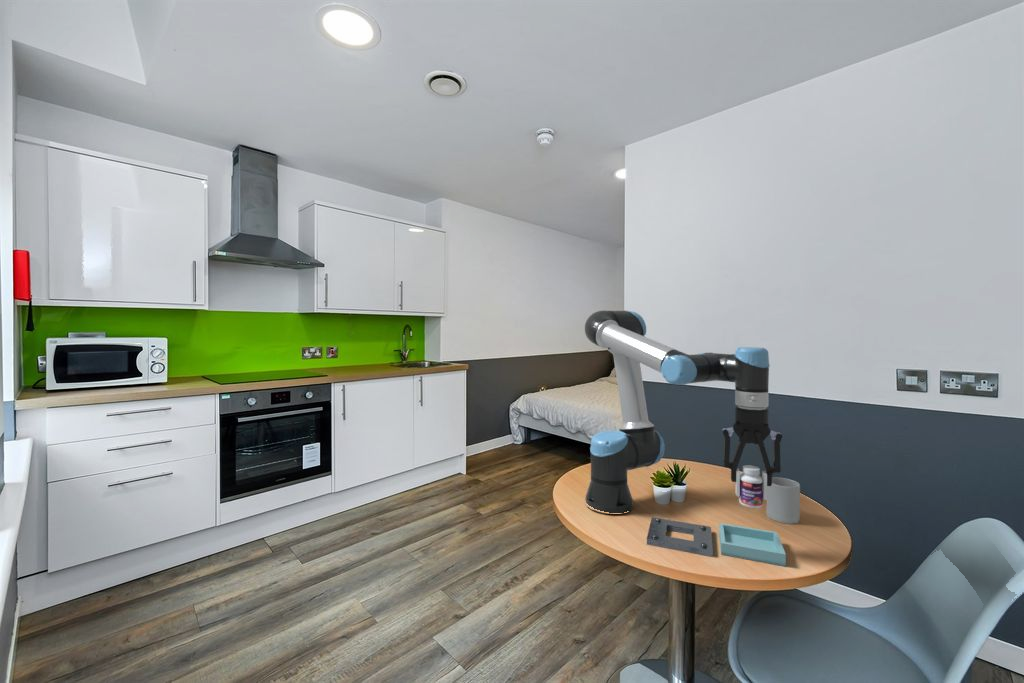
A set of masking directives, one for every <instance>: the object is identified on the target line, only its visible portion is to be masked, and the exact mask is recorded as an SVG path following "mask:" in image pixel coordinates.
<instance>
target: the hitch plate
mask: <svg viewBox="0 0 1024 683" xmlns="http://www.w3.org/2000/svg"><path fill="white" fill-rule="evenodd" d="M668 531H670V532H677V533H681V534H682V533H683V534H687V535H692V536H693V540H690V539H684V538H679V537H674V536H667V534H668V533H667V532H668ZM712 537H713V534H712V526H709V525H702V524H696V523H691V522H683V521H677V520H671V519H666V518H665V519H664V518H659V517H653V516H652V517H651V519H650V524H649V527H648V531H647V536H646V545H650V546H654V547H658V548H659V547H660V548H666V549H670V550H675V551H680V552H686V553H691V554H696V555H702V556H707V557H710V558H711V557H712V558H713V557H714V550H713V546H714V545H713V538H712Z"/></svg>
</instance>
